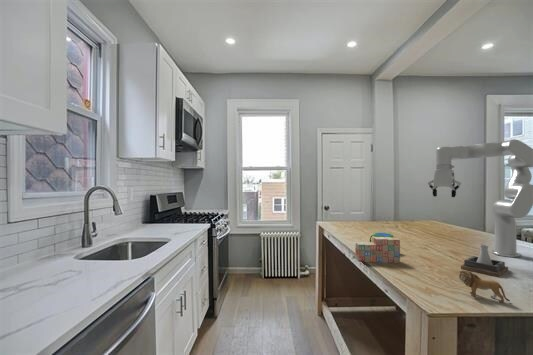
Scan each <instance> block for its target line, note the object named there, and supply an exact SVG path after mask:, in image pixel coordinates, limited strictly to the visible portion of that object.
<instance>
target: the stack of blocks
mask: <svg viewBox="0 0 533 355" xmlns="http://www.w3.org/2000/svg"><path fill="white" fill-rule="evenodd" d="M395 237H396V236H394V237H374V236H372V238H371V242H370V241H368V242H367V241H355V249H354V250H355V253H354V254H355V260H356V261H357V262H359V263H387V264H388V263H391V264H392V263H394V264H397V263H399V264H400V263H401V245H400V244H401V240H400V238H398V237H396V238H395Z"/></svg>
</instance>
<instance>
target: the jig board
mask: <svg viewBox="0 0 533 355" xmlns="http://www.w3.org/2000/svg"><path fill="white" fill-rule="evenodd" d="M478 257H479V256H475V255H474V256H471V257H468V258H466V259H464V260H463V264H462V265H460V269H461V270H467V271H470V272H472V273H479V274H483V275H487V276H491V277H496V278H498V277H499V276H501V275H503V274H504V273H506V272H507V271H509V267H508V266H506V262H505V261H501V260H497V259H491V261H492V264H493V265H488V264H483V263H478V262H477V259H478Z"/></svg>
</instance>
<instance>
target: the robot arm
mask: <svg viewBox="0 0 533 355" xmlns="http://www.w3.org/2000/svg"><path fill="white" fill-rule="evenodd" d="M435 152H436V153H435V155H436V159H435V160H436V162H435V164H436V168H435V171H434V173H433V174H434V175H433V179H432V180H430V181H428V182H427V184H428V187H429V188H430V189H431V190H432V196H433V197H438V190H437V189H438V188H439V187H440V188H443V187H444V188H451V198H456V196H457V190H458V189H459V188H460V186H461V185H462V182H461V181H459V180H457V179H456V176H455V172H454V170H453V168H455V165H452V161H454V160H455V161H456V160H465V159H467V160H468V159H482V158H483V159H484V158H494V157H506V156H509V157H508V159H507V163H508V166H509V167H510V169H511V171H512V173H511V176H510V179H509V181H508V183H507V184H506V186H505V188H504V191H503V195H504V197H505V198H507V199H499V200H496V201H495V202H494V203H493V204H492V208H491V209H492V214H493V217H494V218H493V219H494V249H492V250H491V252H490V253H491V254H493V255H495V256H496V255H497V256H502V257H507V258H520V257H521V254H520V253H519V252H517V251H518V250H517V247H518V246H517V222H516V219H524V218H526V217H527V215H528V214H529V213H530V212H531V210H532V208H533V184H531V181H532V176H533V175H532V173H531V170H530V168H533V148H532V147H531V146H529V145H527V143H525V142H523V141H521V140H519V139H509V140H502V141H494V142H493V141H492V142H481V143H476V144H471V145H467V146H463V145H457V146H438V147H437V148H436V151H435Z"/></svg>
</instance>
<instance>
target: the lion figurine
mask: <svg viewBox="0 0 533 355" xmlns="http://www.w3.org/2000/svg"><path fill="white" fill-rule="evenodd" d="M458 271H459V273H458V279H459V280H460V282H462V283H463V284H465V287H468V288H470V289H471V291H470V292H469V294H470V293H471V294H470V296H471V297H473V296H474V297H477V290H478V289H480V290H484V291H485V290H486V291H487V290H491V291H492V292H493V295H490V298H491V299H496V298H497V297H499V299H500V300H498V302H499V303H501V304H504V303H505V300H506V301H507V302H510V301H511V300H510V299H509V298H507V297H506V295H505V294H506V293H505V291H504V287H503V286H502V285H501V284H500V283H499V282H498V281H497V280H496V281H495V280H491V279H490V280H489V279H482V278H480V277H479V275H477V274H475V273H474V272H472V271H469V270H464V269H461V270H458ZM500 291H501V292H500ZM501 293H502V294H501Z"/></svg>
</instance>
